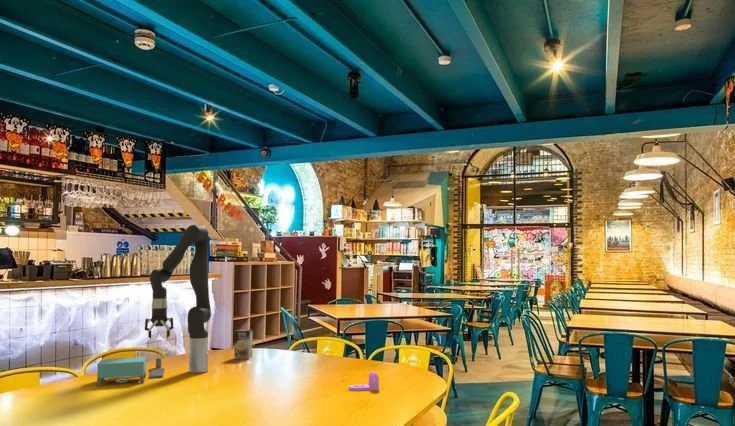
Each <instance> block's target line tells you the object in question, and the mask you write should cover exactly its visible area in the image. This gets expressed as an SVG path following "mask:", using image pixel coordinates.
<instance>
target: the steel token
mask: <svg viewBox="0 0 735 426" xmlns="http://www.w3.org/2000/svg"><path fill="white" fill-rule="evenodd" d="M115 381H116V383H117V384H125V383H128V381H129V379H128V378H120V379H116V380H115Z"/></svg>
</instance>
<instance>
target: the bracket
mask: <svg viewBox="0 0 735 426" xmlns="http://www.w3.org/2000/svg"><path fill="white" fill-rule="evenodd" d="M379 381H380V379H379V375H378V374H377V373H376V371H371V372H369V374H368V384H351V385H349V386H348V390H349V391H351V392H353V391H354V392H356V391H357V392H360V391H379V390H380V386H379V385H380V382H379Z"/></svg>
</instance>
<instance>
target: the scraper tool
mask: <svg viewBox="0 0 735 426" xmlns="http://www.w3.org/2000/svg"><path fill="white" fill-rule="evenodd" d="M162 356H163V355H156V358H155V368H151V371H150V374H149V380H150V379H163V377H164V374H165V367H162V363H163V362H162V359H163V357H162Z"/></svg>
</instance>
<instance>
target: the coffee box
mask: <svg viewBox="0 0 735 426" xmlns="http://www.w3.org/2000/svg"><path fill="white" fill-rule="evenodd" d="M252 358H253V329H241V328H240V329H236V330H234V357H233V359H234V360H250V359H252Z"/></svg>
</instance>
